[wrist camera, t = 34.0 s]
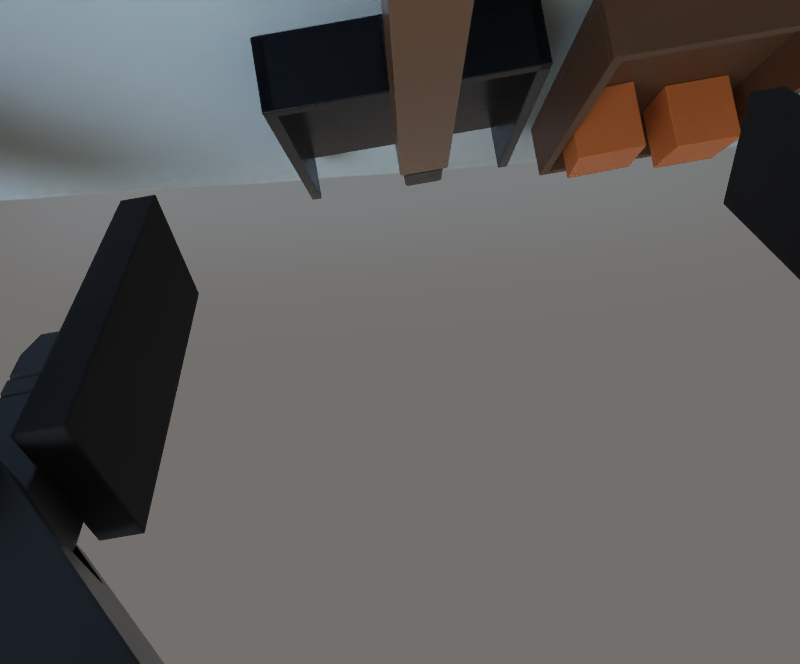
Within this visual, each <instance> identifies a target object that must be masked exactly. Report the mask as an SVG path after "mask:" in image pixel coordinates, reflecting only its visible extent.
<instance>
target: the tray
mask: <svg viewBox="0 0 800 664" xmlns="http://www.w3.org/2000/svg"><path fill="white" fill-rule="evenodd" d="M723 75H729V78H730V83H731V88H732V92H733V97H734V102H735V107H736V111H737V116H738V121H739V126H740V130H741V128H742V124H743V120H744V115H745V111H746V107H747V103H748V99H749V94H750V92H753V91H759V90H765V89H771V88H777V87H782V86H786V87H787V88H789V89H791V90H792V91H794V92H795V93H797V94H799V93H800V0H593V3H592V5H591V7H590V9H589V11H588V13H587V15H586V17H585V19H584V21H583V23H582V25H581V27H580V30H579V32H578V34H577V36H576V38H575V40H574V42H573V44H572V46H571V48H570V50H569V52H568V54H567V56H566V59H565V61H564V63H563V65H562V67H561V69H560V71H559V73H558V75H557V77H556V79H555V81H554V83H553V86H552V88H551V90H550V92H549V94H548V96H547V98H546V100H545V102H544V104H543V106H542V108H541V110H540V113H539V115H538V117H537V119H536V121H535V123H534V125H533V127H532V129H531V132H532V136H533V142H534V148H535V153H536V158H537V164H538V169H539V174H540V175H544V174H550V173H556V172H561V171H566V166H565V161H564V156H563V150H564V148H565V147H566V145H567V144H568V142H569V141H570V139H571V138H572V136H573V135H574V133H575V132H576V130H577V129H578V127H579V126H580V124H581V123H582V121H583V120H584V118H585V117H586V115H587V114H588V112H589V111H590V109H591V108H592V106H593V105H594V103H595V102H596V100H597V99H598V97H599V96H600V94H601V93H602V92H603V90H604V89H605V87H608V86H613V85H618V84H623V83H628V82H632V81H633V82H634V86H635V91H636V96H637V101H638V106H639V111H640V116H641V121H642V126H643V131H644V136H645V141H646V146H645V148H644V149H643V150H642V151H641V152H640V153H639V155H638V156H637V157H636V158H635V159H637V158H643V157H648V156H651V152H650V147H649V142H648V137H647V132H646V127H645V122H644V117H643V111H644V110H645V109H646V108H647V106H648V105H649V104H650V103H651V102H652V101H653V99H654V98H655V97H656V96H657V95H658V94H659V92H660V91H661V90H662V89H663V88H664V87H665V86H667V85H672V84H678V83H684V82H689V81H695V80H701V79H706V78H712V77H718V76H723Z"/></svg>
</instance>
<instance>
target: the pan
mask: <svg viewBox="0 0 800 664" xmlns="http://www.w3.org/2000/svg"><path fill="white" fill-rule="evenodd" d="M381 5H382V15H378V16H372V17H366V18H361V19H355V20H349V21H344V22H338V23H332V24H326V25H321V26H315V27H309V28H304V29H298V30H292V31H287V32H281V33H275V34H270V35H264V36H258V37H252V38H251V45H252V52H253V58H254V64H255V71H256V77H257V83H258V90H259V96H260V103H261V109H262V114H263V115H264V117H265V119H266V120H267V122H268V124H269V126H270V127H271V129H272V131H273V132H274V134H275V136H276V137H277V139H278V141H279V143H280V144H281V146H282V148H283V149H284V151H285V153H286V154H287V156H288V158H289V160H290V161H291V163H292V165H293V166H294V168H295V170H296V171H297V173H298V175H299V177H300V178H301V180H302V182H303V183H304V185H305V187H306V188H307V190H308V192H309V193H310V195H311V197H312V199H319V198H321V192H320V186H319V179H318V173H317V167H316V161H315V158H317V157H322V156H328V155H334V154H340V153H345V152H351V151H357V150H363V149H368V148H374V147H380V146H386V145H391V144H395V146H396V152H397V158H398V163H399V169H400V174H401V175H404V178H405V184H406V185H407V186H409V185H415V184H421V183H427V182H432V181H438V180H441V176H442V169H443V168H447V167H448V161H449V155H450V149H451V143H452V137H453V134H455V133H461V132H466V131H472V130H478V129H484V128H490V127H491V132H492V137H493V142H494V148H495V153H496V159H497V164H498V167H504V166H507V164H508V162H509V160H510V157H511V155H512V153H513V151H514V148H515V146H516V144H517V142H518V139H519V137H520V135H521V133H522V130H523V128H524V126H525V124H526V121H527V119H528V117H529V115H530V112H531V110H532V108H533V106H534V103H535V101H536V99H537V97H538V94H539V92H540V90H541V88H542V85H543V83H544V81H545V79H546V76H547V74H548V72H549V70H550V67H551V65H552V63H553V62H552V57H551V52H550V46H549V41H548V36H547V31H546V26H545V20H544V15H543V10H542V5H541V0H381Z"/></svg>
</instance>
